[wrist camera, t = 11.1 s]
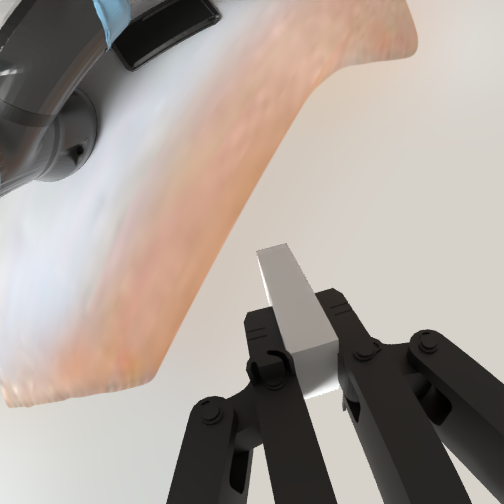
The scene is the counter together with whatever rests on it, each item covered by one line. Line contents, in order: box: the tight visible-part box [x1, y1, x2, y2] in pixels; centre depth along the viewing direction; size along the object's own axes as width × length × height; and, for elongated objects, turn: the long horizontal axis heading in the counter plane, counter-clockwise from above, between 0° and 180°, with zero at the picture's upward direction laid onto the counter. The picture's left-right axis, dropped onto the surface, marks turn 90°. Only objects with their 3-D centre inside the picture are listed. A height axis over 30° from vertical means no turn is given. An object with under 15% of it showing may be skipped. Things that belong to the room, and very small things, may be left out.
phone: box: [111, 0, 219, 71], centre depth 28 cm, size 8×1×15 cm
